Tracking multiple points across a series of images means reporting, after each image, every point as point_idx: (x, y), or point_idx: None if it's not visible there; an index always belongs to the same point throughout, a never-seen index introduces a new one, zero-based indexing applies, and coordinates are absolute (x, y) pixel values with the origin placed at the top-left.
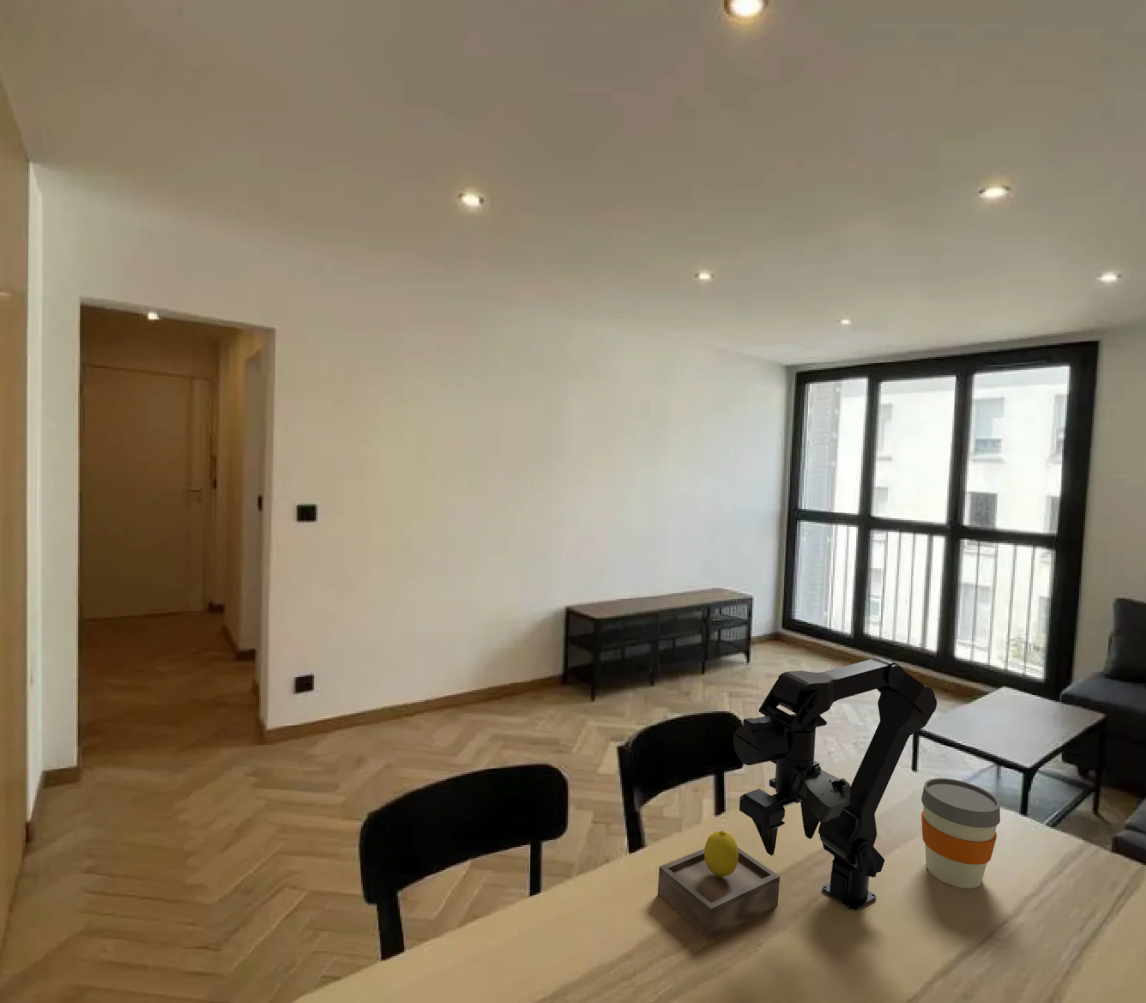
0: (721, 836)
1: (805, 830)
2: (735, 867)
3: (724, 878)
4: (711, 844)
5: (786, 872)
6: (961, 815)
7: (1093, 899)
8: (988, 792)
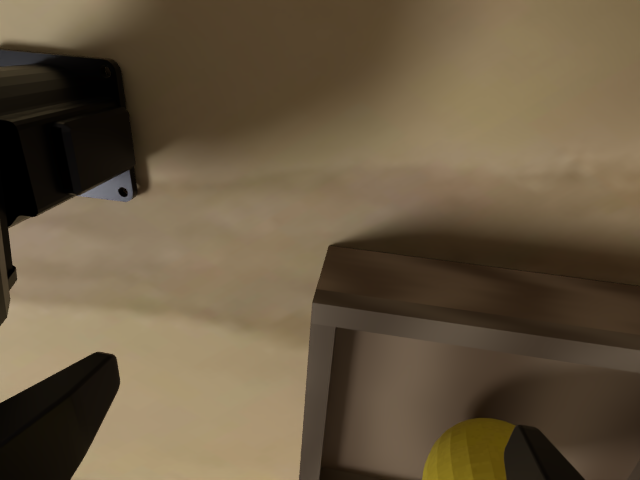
0: None
1: (95, 421)
2: (486, 435)
3: (473, 411)
4: None
5: (173, 304)
6: None
7: None
8: None
